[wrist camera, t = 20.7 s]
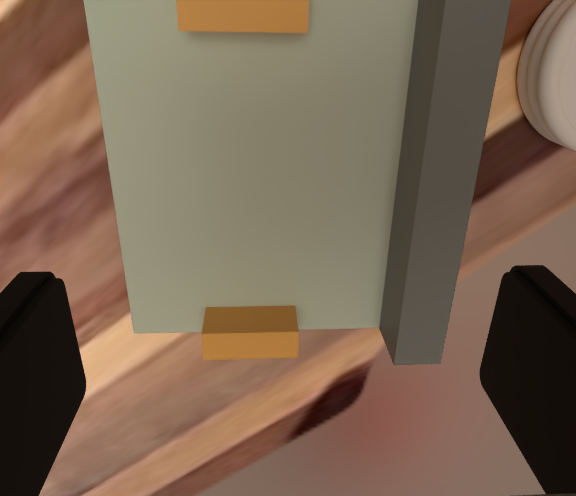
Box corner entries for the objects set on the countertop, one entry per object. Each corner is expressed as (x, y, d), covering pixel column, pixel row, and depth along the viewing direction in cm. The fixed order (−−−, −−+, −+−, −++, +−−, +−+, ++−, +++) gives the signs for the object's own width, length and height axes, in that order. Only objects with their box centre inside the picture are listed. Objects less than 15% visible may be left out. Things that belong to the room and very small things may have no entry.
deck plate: (461, -7, 27) (513, -13, 21) (412, 311, 36) (440, 363, 30) (93, -15, 25) (49, -23, 20) (140, 316, 35) (118, 372, 29)
